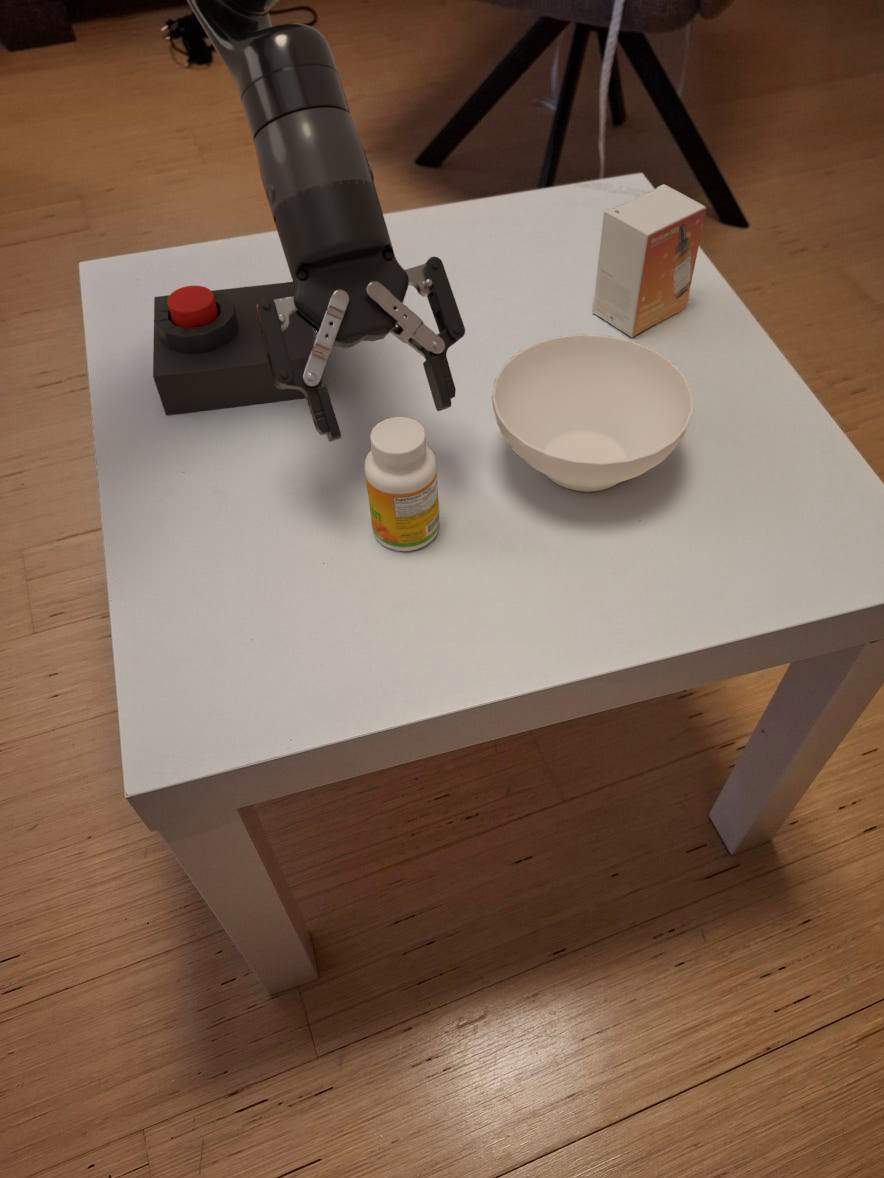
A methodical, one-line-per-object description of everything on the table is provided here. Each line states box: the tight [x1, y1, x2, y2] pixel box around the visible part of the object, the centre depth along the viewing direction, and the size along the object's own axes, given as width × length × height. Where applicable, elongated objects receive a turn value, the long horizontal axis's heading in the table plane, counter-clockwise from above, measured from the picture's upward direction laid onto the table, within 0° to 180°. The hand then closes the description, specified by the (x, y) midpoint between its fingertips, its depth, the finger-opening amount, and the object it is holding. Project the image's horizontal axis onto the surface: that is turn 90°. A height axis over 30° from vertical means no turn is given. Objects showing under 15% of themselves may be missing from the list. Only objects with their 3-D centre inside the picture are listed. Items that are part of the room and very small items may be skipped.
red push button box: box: [152, 281, 315, 416], centre depth 86 cm, size 14×12×6 cm
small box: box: [592, 183, 707, 338], centre depth 89 cm, size 8×6×10 cm
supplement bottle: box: [364, 416, 440, 552], centre depth 71 cm, size 5×5×10 cm
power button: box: [167, 285, 218, 328], centre depth 82 cm, size 4×4×2 cm
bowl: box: [491, 333, 695, 493], centre depth 77 cm, size 16×16×7 cm
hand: (390, 424), depth 69 cm, fingers open, 8 cm apart
